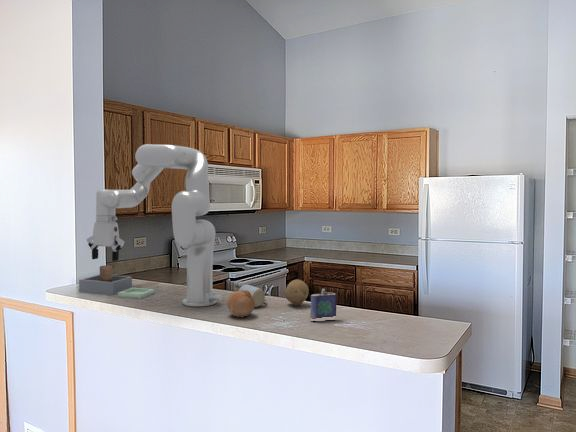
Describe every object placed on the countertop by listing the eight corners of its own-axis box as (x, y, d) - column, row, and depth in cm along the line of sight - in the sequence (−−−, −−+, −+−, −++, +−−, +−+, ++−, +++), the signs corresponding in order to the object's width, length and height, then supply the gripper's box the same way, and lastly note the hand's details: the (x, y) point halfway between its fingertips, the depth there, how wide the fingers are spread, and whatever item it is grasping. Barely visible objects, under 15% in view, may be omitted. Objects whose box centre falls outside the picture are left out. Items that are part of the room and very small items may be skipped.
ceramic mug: (253, 309, 165) (253, 288, 165) (236, 306, 170) (237, 285, 170) (271, 304, 173) (272, 284, 173) (255, 301, 178) (256, 281, 178)
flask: (311, 322, 150) (312, 290, 150) (308, 320, 153) (309, 288, 153) (337, 320, 153) (338, 289, 153) (333, 318, 156) (334, 287, 156)
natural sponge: (309, 309, 167) (309, 282, 167) (284, 308, 167) (285, 281, 167) (307, 303, 176) (308, 277, 176) (284, 302, 176) (285, 277, 176)
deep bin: (131, 288, 196) (131, 276, 195) (113, 294, 183) (113, 282, 183) (99, 285, 200) (99, 274, 199) (79, 291, 187) (79, 279, 187)
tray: (154, 293, 187) (154, 289, 187) (140, 299, 177) (140, 294, 177) (132, 291, 189) (132, 287, 189) (117, 297, 180) (118, 292, 180)
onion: (251, 324, 157) (264, 299, 157) (234, 323, 150) (248, 296, 149) (233, 309, 163) (246, 285, 162) (216, 307, 155) (230, 282, 155)
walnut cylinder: (115, 289, 193) (114, 265, 193) (107, 291, 188) (107, 267, 188) (104, 288, 194) (104, 265, 194) (97, 290, 190) (97, 267, 189)
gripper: (129, 219, 191) (128, 260, 192) (93, 217, 196) (93, 257, 197) (118, 220, 184) (117, 262, 185) (81, 218, 188) (81, 259, 189)
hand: (105, 259), depth 191 cm, fingers open, 9 cm apart
